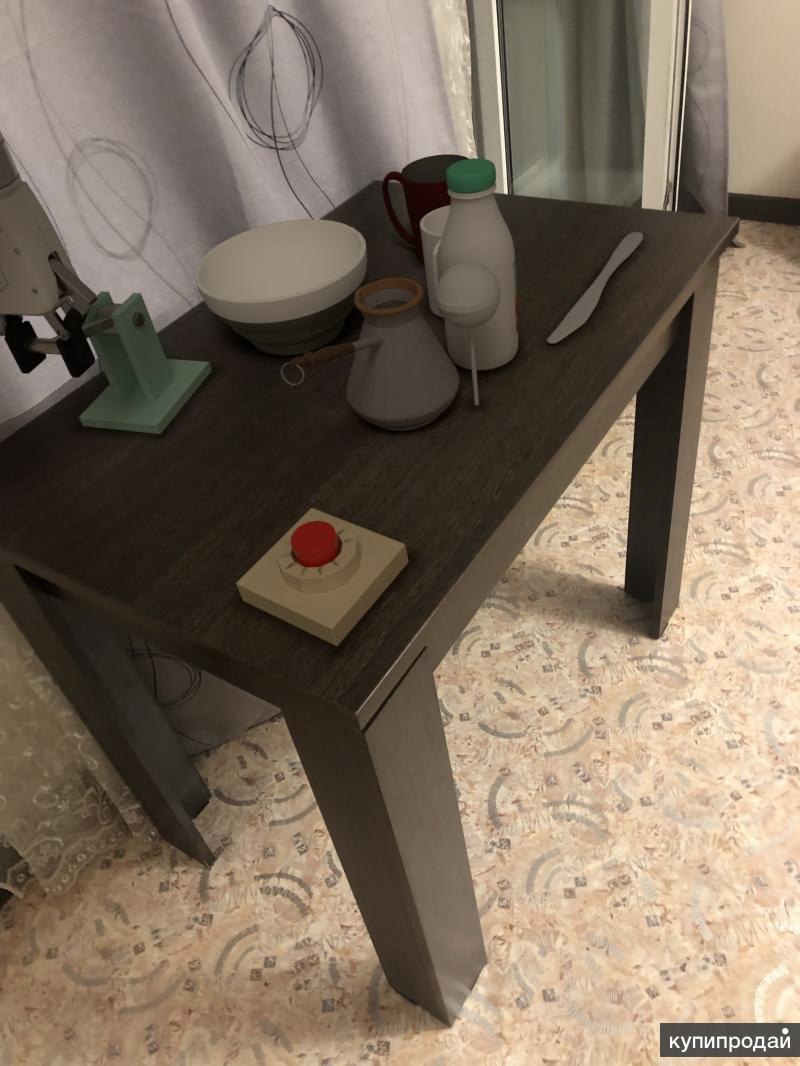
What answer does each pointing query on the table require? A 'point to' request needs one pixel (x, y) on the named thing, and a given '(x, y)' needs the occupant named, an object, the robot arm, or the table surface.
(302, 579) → the block
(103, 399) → the green lever stand
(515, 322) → the milk bottle
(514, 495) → the table surface
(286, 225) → the bowl
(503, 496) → the table surface
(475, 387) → the lollipop
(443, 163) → the mug
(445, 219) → the cup
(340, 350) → the coffee pot
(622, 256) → the butter knife
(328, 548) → the button
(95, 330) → the lever handle
